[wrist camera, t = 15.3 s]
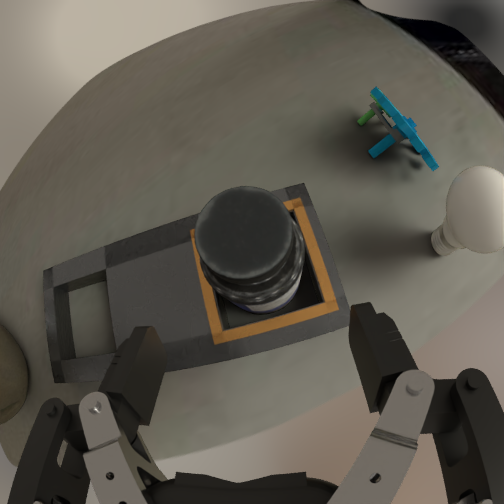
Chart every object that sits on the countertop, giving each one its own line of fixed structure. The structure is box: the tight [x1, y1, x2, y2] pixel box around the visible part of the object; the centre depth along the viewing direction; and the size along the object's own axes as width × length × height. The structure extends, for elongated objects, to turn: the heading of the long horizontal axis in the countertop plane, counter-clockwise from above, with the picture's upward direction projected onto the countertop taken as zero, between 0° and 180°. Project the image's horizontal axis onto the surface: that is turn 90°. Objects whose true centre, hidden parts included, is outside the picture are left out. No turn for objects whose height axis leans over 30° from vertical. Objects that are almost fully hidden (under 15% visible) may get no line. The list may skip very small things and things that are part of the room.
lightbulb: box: [431, 166, 504, 256], centre depth 17 cm, size 6×6×11 cm
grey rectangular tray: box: [43, 183, 350, 383], centre depth 22 cm, size 28×12×3 cm, turn 105°
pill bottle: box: [194, 186, 305, 314], centre depth 18 cm, size 6×6×11 cm
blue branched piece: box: [357, 87, 439, 171], centre depth 24 cm, size 11×6×10 cm
